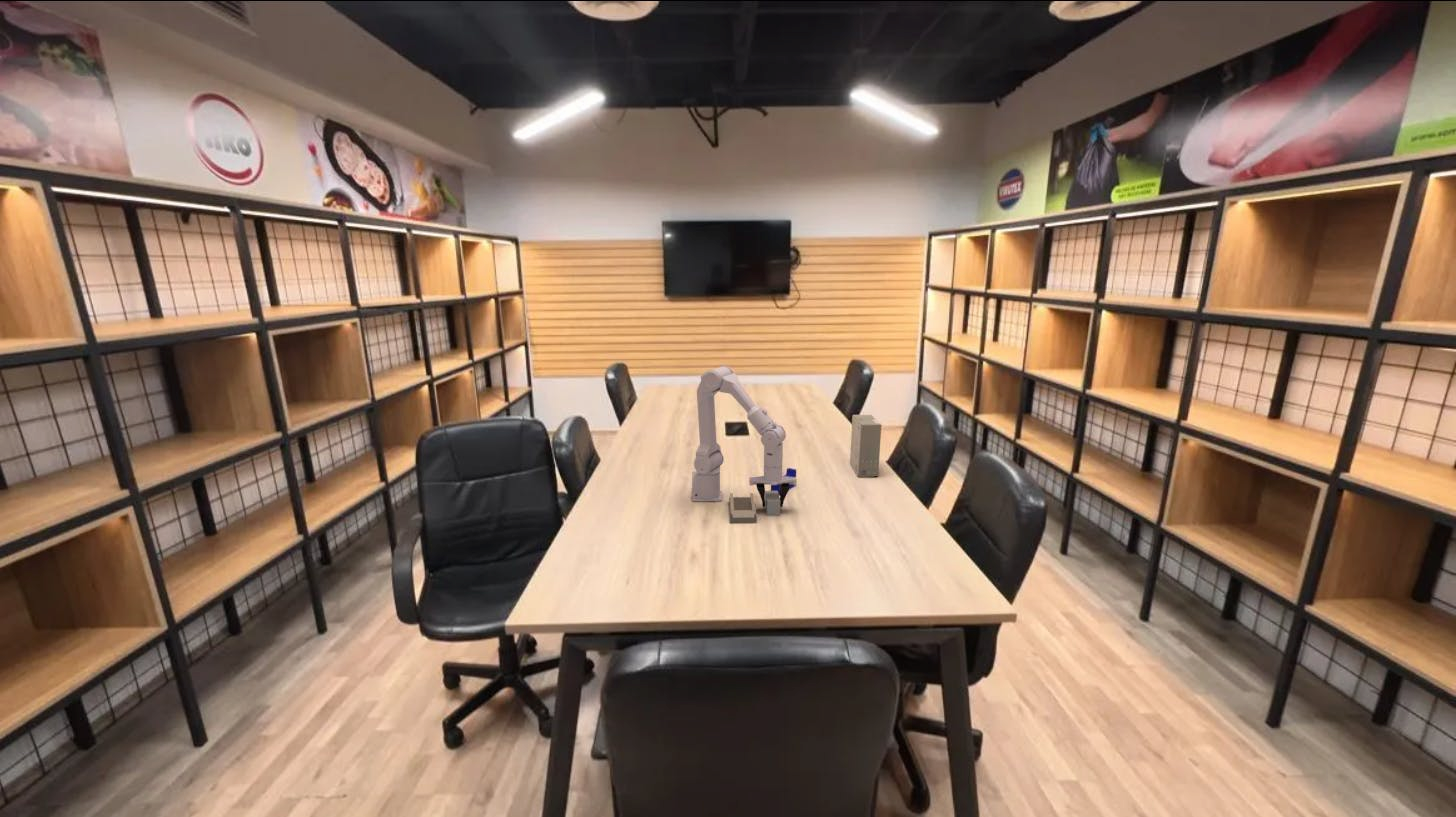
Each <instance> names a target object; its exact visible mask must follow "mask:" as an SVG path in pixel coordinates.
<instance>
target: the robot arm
mask: <svg viewBox="0 0 1456 817" xmlns="http://www.w3.org/2000/svg"><path fill="white" fill-rule="evenodd" d="M718 392H720V393H723V394H729V395H731V396H732V397H733V398H734V399H735V401H736V402H737V403H738V404H739V405H740V406H741V407H742V408H743V410H744V411H745V412H746V413H747V418H746V419H747V420H748V421H749V423H750V424H751V425H752V427H753V428H754V429H755V430H756V431H757V433H758V434H759V435H760V436H761V437H760V443H761V444H762V445H763V475H761V476H755V477H749V481H748V482H749V486H756V489H757V492H758V494H759V496H760V499H761V503H762V504H761V505H762V506H761V507H762V508H765V491H766V488H765V487H766V486H767V485H770V486H771V485H777V484H780V495H779V498H780V508H783V506H784V502H785V499H786V496H787V494H789V493H788V492H789V491H790V490H791V489H790V486H789V484H793V485H795V486H797V484H798V483H797V480H798V479H797V476H796V477H787V476H784V475H783V460H784V459H783V452H784V451H783V446H784V444H783V442H784V441H785V439H786V438H787V437H786V436H787V434H786V431H785V429H784V427H783V426H781V424H777V422H776V421H775V422H774V421H773V419H772V418H771V417H770V415H769V414H768V413H769V412H768V410H767V409H766V408H763V407H762V406H758V405H756V404H755V402H754V401H753V400H752V397H750V395H749V393H748V392H747V391H746V390H745V388H744V386H743V385H742V383H740V380H739V377H738V375H737V374H736V373H734V370H733V369H732V368H731V367H729V366H728V365H722V366H719V367H717V368H714V369H708V370H707V371H705V372H704V373H703V374H701V376H700V381H699V384H698V387H697V389H696V402H697V414H698V415H697V419H698V430H699V431H698V433H699V434H698V435H699V436H698V437H699V445H698V447H697V449H696V451H695V459H694V461H693V466H694V470H695V471H692V474H691V494H692V495H691V497H692V498H691V501H692V502H721V501H722V490H721V466H722V465H723V463H724V460H725V459H724V455H723V453H722V449H721V445H720V444H719V443H718V442H717V426H716V409H715V395H717V393H718ZM765 485H766V486H765Z"/></svg>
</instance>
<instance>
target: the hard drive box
mask: <svg viewBox="0 0 1456 817" xmlns="http://www.w3.org/2000/svg"><path fill="white" fill-rule="evenodd" d="M882 426H883V425H882V424H881V423H880V422H879V421H878V419H877V418H875V417H874V415H872V414H852V417H851V435H850V436H851V437H850V455H849V456H850V457H849V464H850V466H851V468H852V467H853V468H852V469H854V470H853V471H854V473H855V475H856V474H857V475H856V477H857V478H860V477H861V478H862V477H863V478H875V477H874V476H878V477H879V469H880V468H879V466H880V452H881V439H882V438H881V437H882Z"/></svg>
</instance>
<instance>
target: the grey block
mask: <svg viewBox="0 0 1456 817" xmlns="http://www.w3.org/2000/svg"><path fill="white" fill-rule="evenodd" d="M764 508H765V512H766V516H768V517H770V516H773V517H774V516H778V517H779V516H781V507H780V495H779V494H778V491H771V490H765V507H764Z"/></svg>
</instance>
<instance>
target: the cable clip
mask: <svg viewBox="0 0 1456 817" xmlns="http://www.w3.org/2000/svg"><path fill="white" fill-rule="evenodd" d="M783 476H787V477H796V478H797V469H796V468H791V467H788V468H786V473H785V475H783ZM789 486H790V489H789V490H791V489H792V488H794V487H795V486H796V485H793V484H789ZM770 491H778V494H779V496H780V484H777V485H771V484H770Z"/></svg>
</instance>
